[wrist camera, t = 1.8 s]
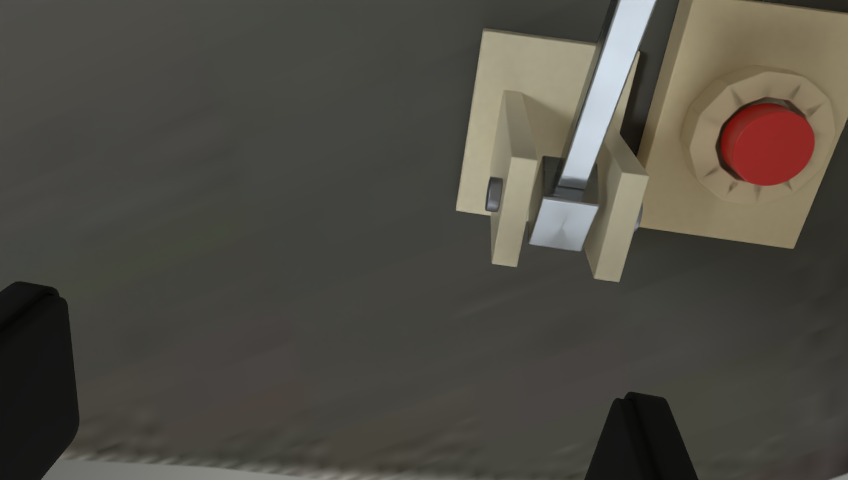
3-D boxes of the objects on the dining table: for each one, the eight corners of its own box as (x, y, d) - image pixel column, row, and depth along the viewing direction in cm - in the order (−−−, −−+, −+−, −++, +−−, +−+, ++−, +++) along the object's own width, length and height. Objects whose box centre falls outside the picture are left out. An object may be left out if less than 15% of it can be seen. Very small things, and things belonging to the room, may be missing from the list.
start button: (733, 97, 30) (747, 106, 29) (810, 107, 30) (828, 117, 29) (710, 169, 32) (722, 180, 30) (782, 179, 32) (798, 191, 30)
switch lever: (563, -96, 18) (564, -57, 16) (741, -73, 18) (758, -31, 16) (496, 197, 27) (492, 240, 26) (612, 214, 27) (616, 258, 26)
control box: (681, -10, 32) (706, -4, 28) (863, 14, 32) (912, 24, 28) (621, 210, 37) (636, 239, 33) (777, 233, 37) (809, 264, 33)
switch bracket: (483, 27, 33) (482, 72, 22) (635, 48, 33) (716, 104, 22) (456, 203, 38) (443, 318, 26) (591, 222, 37) (639, 347, 26)
